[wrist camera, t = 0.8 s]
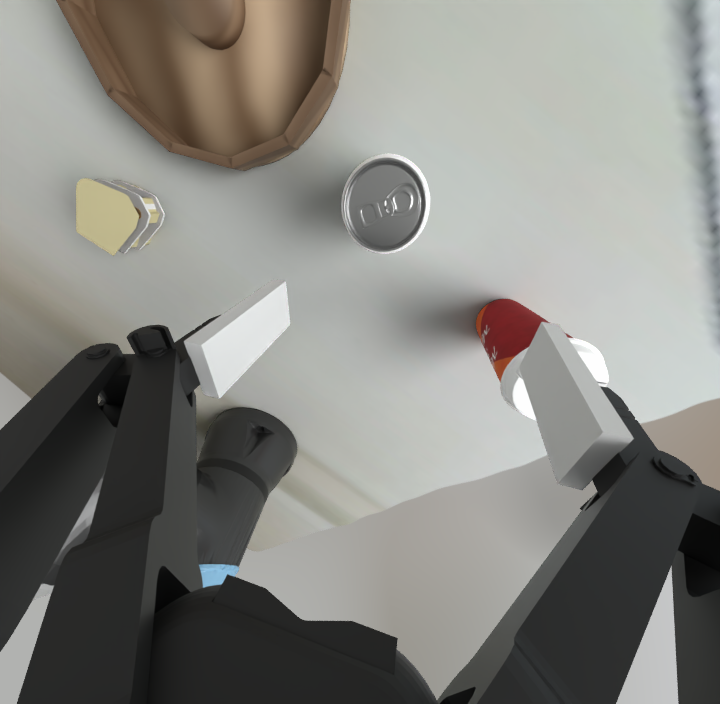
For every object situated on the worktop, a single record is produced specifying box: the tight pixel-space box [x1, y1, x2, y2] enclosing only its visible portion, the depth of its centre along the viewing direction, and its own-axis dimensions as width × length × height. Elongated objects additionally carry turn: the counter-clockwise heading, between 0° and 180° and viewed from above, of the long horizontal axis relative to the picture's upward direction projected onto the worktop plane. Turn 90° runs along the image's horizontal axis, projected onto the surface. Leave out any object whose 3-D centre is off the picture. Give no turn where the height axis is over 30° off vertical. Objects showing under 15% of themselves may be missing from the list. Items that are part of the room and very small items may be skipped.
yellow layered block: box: [76, 178, 165, 256], centre depth 30 cm, size 10×9×6 cm
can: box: [341, 154, 430, 254], centre depth 24 cm, size 6×6×12 cm
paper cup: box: [476, 299, 608, 420], centre depth 28 cm, size 8×8×14 cm
